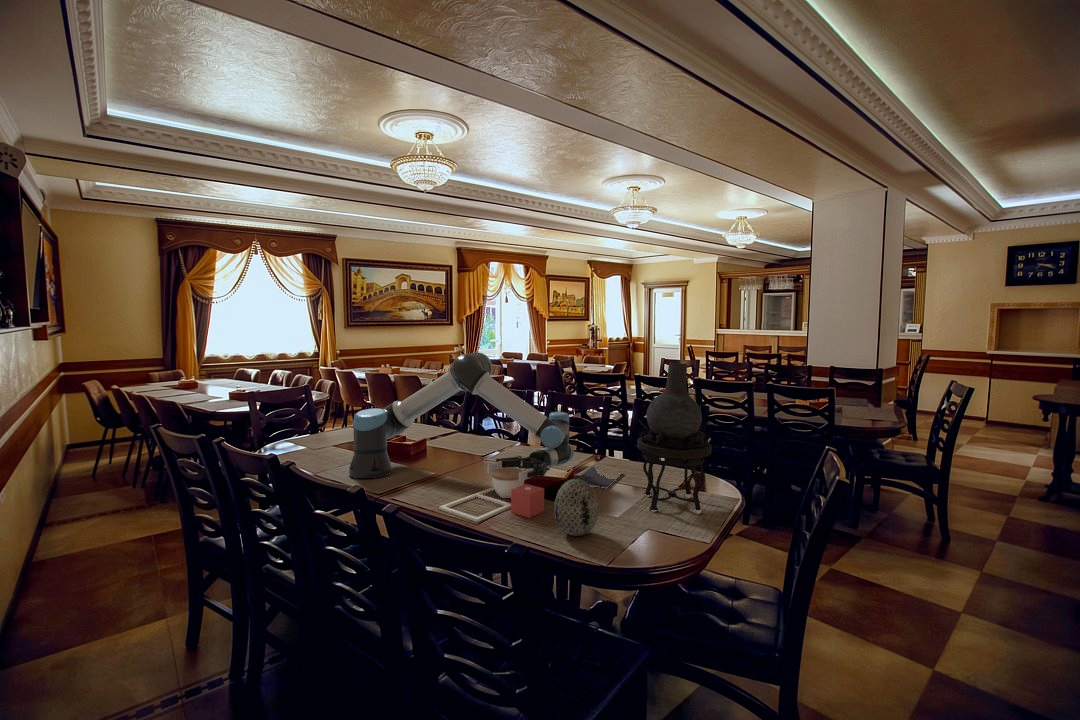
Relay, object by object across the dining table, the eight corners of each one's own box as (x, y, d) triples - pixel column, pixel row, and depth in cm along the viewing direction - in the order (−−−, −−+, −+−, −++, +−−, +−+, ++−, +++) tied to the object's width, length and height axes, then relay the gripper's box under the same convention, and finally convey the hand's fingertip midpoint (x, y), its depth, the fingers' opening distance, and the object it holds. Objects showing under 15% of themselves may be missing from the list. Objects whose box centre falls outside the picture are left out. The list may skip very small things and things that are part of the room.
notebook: (592, 470, 195) (572, 485, 176) (592, 466, 195) (572, 481, 176) (623, 475, 190) (607, 491, 171) (623, 470, 190) (607, 486, 170)
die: (525, 506, 154) (526, 483, 153) (543, 511, 149) (544, 487, 149) (511, 512, 148) (511, 488, 148) (529, 518, 144) (529, 493, 143)
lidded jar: (523, 501, 158) (524, 472, 157) (490, 500, 158) (490, 471, 157) (525, 490, 168) (525, 463, 168) (493, 489, 168) (493, 462, 168)
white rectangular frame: (505, 484, 174) (505, 482, 174) (541, 494, 165) (541, 492, 165) (439, 509, 150) (439, 506, 150) (477, 522, 140) (477, 519, 140)
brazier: (630, 511, 151) (634, 363, 148) (641, 489, 172) (645, 359, 169) (708, 522, 143) (714, 366, 140) (709, 497, 164) (715, 362, 161)
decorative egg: (565, 546, 125) (567, 488, 124) (546, 529, 136) (547, 475, 135) (605, 539, 130) (607, 483, 129) (584, 523, 141) (585, 471, 140)
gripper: (571, 476, 170) (533, 492, 153) (515, 463, 185) (475, 476, 168) (572, 455, 169) (534, 468, 153) (516, 444, 185) (475, 455, 168)
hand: (503, 472), depth 160 cm, fingers open, 13 cm apart
